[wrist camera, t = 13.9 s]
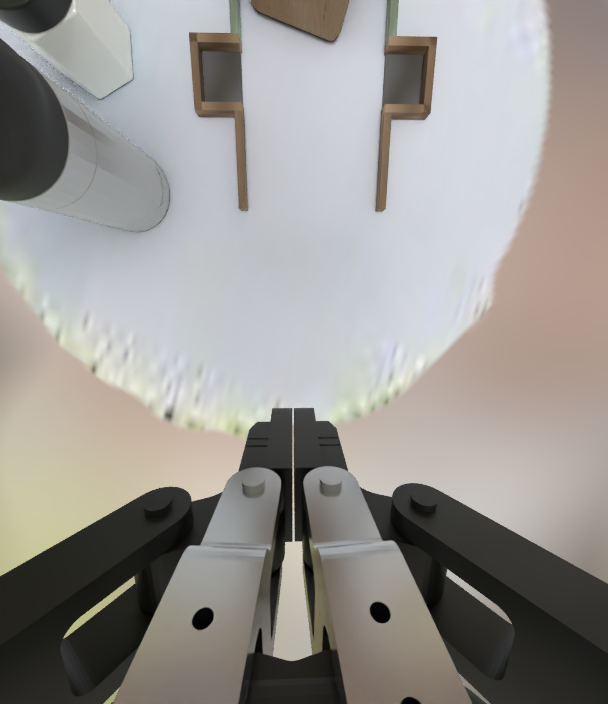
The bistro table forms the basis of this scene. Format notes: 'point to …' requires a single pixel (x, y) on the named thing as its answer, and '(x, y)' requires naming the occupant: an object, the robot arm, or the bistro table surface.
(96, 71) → the jar
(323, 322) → the bistro table surface
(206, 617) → the robot arm
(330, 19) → the block
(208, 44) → the notched outline frame
